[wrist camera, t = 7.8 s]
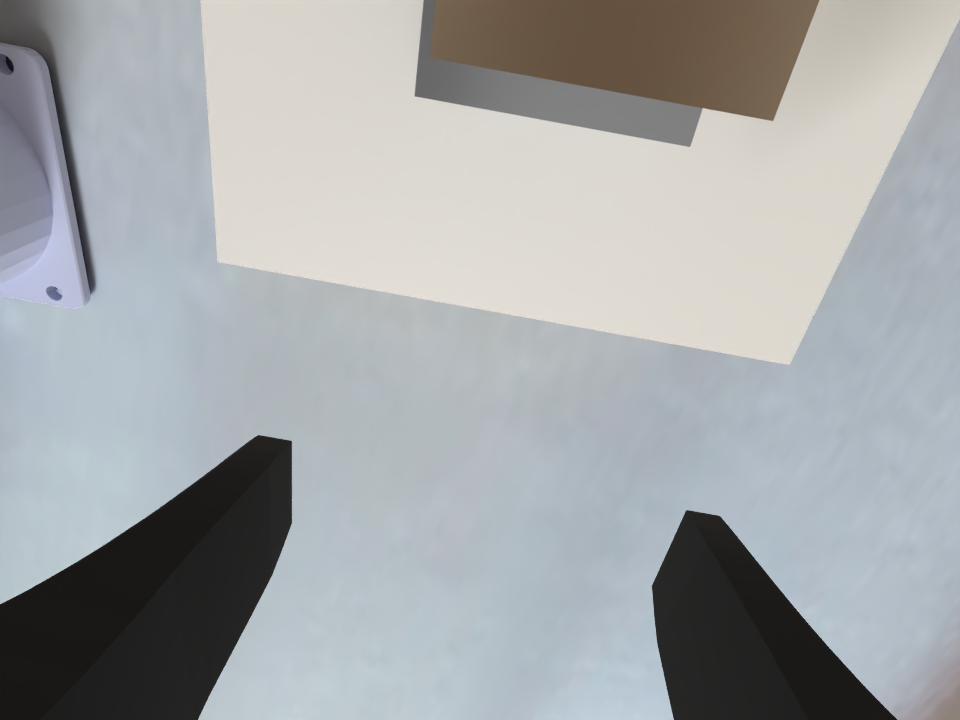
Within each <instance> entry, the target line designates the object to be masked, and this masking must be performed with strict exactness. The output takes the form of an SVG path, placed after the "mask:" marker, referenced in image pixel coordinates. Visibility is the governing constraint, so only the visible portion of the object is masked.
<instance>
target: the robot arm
mask: <svg viewBox="0 0 960 720" xmlns="http://www.w3.org/2000/svg"><path fill="white" fill-rule="evenodd" d="M6 56H7V57H8V58H9V59H10V60H11V61H12V63H13V66H14V72H12V71H11V70H10V69H9V68H8V66H7V64H6ZM54 287H56V288H57V289H59V290H60V292H61V294H62V295H60V294H59V293H58V292H57V291H56V290H55V288H54ZM0 296H4V297H9V298H15V299H21V300H26V301H32V302H37V303H43V304H49V305H54V306H60V307H65V308H71V309H78V308H81V307H82V306H84V305H86V304H87V303H88V302H89V300H90V290H89V285H88V280H87V274H86V269H85V263H84V258H83V253H82V247H81V242H80V236H79V231H78V225H77V220H76V215H75V209H74V204H73V198H72V193H71V188H70V182H69V177H68V171H67V166H66V161H65V155H64V150H63V144H62V139H61V133H60V128H59V123H58V117H57V112H56V106H55V101H54V96H53V90H52V85H51V79H50V74H49V69H48V67H47V64H46V62H45V60H44V59H43V58H42V56H41V55H40V54H39V53H37V52H36V51H35V50H33V49H30V48H28V47H22V46H17V45H11V44H6V43H0ZM291 524H292V441H289V440H283V439H277V438H272V437H266V436H260V435H258V436H256V437H255V438H253V439H252V440H250V441H249V442H248V443H246V444H245V445H244V446H242V447H241V448H240V449H238V450H237V451H236V452H234V453H233V454H232V455H231V456H229V457H228V458H227V459H225V460H224V461H223V462H221V463H220V464H219V465H218V466H216V467H215V468H214V469H212V470H211V471H210V472H208V473H207V474H206V475H204V476H203V477H202V478H200V479H199V480H198V481H196V482H195V483H194V484H192V485H191V486H190V487H188V488H187V489H185V490H184V491H183V492H181V493H180V494H178V495H177V496H176V497H174V498H173V499H172V500H170V501H169V502H167V503H166V504H165V505H163V506H162V507H160V508H159V509H158V510H156V511H155V512H153V513H152V514H150V515H149V516H148V517H146V518H145V519H143V520H142V521H140V522H139V523H137V524H136V525H134V526H132V527H131V528H129V529H128V530H126V531H125V532H123V533H122V534H120V535H119V536H117V537H116V538H114V539H113V540H111V541H110V542H108V543H107V544H105V545H104V546H102V547H101V548H99V549H97V550H96V551H94V552H92V553H91V554H89V555H88V556H86V557H84V558H83V559H81V560H79V561H78V562H76V563H74V564H73V565H71V566H69V567H68V568H66V569H64V570H63V571H61V572H59V573H57V574H56V575H54V576H52V577H50V578H49V579H47V580H45V581H43V582H42V583H40V584H38V585H36V586H34V587H33V588H31V589H29V590H27V591H25V592H24V593H22V594H20V595H18V596H16V597H14V598H12V599H10V600H8V601H6V602H4V603H2V604H0V720H198V718H199V716H200V714H201V712H202V710H203V708H204V706H205V703H206V701H207V699H208V697H209V695H210V693H211V691H212V689H213V687H214V686H215V684H216V682H217V680H218V678H219V676H220V674H221V672H222V670H223V668H224V667H225V665H226V663H227V661H228V659H229V657H230V655H231V653H232V651H233V649H234V647H235V646H236V644H237V642H238V640H239V638H240V636H241V634H242V632H243V630H244V628H245V627H246V625H247V623H248V621H249V619H250V617H251V615H252V613H253V611H254V609H255V607H256V605H257V603H258V602H259V600H260V598H261V596H262V594H263V592H264V590H265V588H266V586H267V584H268V582H269V580H270V578H271V576H272V574H273V571H274V569H275V566H276V564H277V561H278V559H279V556H280V554H281V551H282V548H283V546H284V543H285V540H286V537H287V535H288V532H289V529H290V527H291ZM652 591H653V604H654V617H655V626H656V635H657V643H658V648H659V653H660V658H661V663H662V667H663V672H664V677H665V681H666V686H667V690H668V695H669V699H670V704H671V708H672V713H673V717H674V720H897V719H896V718H895V717H894V716H893V715H892V714H891V713H890V712H889V711H888V710H887V709H886V708H885V707H884V706H883V705H882V704H881V703H880V702H879V701H878V700H877V699H876V698H875V697H874V696H873V695H872V694H871V693H870V692H869V691H868V690H867V689H866V687H865V686H864V685H863V684H862V683H861V682H860V681H859V680H858V679H857V678H856V677H855V676H854V674H853V673H852V672H851V671H850V670H849V669H848V668H847V667H846V666H845V665H844V664H843V662H842V661H841V660H840V659H839V658H838V657H837V656H836V655H835V654H834V653H833V652H832V650H831V649H830V648H829V647H828V646H827V645H826V644H825V643H824V641H823V640H822V639H821V638H820V637H819V636H818V635H817V633H816V632H815V631H814V630H813V629H812V628H811V626H810V625H809V624H808V623H807V622H806V621H805V619H804V618H803V617H802V616H801V615H800V614H799V612H798V611H797V610H796V609H795V608H794V606H793V605H792V604H791V603H790V602H789V600H788V599H787V598H786V597H785V595H784V594H783V593H782V592H781V591H780V589H779V588H778V587H777V586H776V585H775V583H774V582H773V581H772V580H771V578H770V577H769V576H768V575H767V573H766V572H765V571H764V570H763V568H762V567H761V566H760V565H759V563H758V562H757V561H756V560H755V558H754V557H753V556H752V555H751V553H750V552H749V551H748V550H747V548H746V547H745V546H744V545H743V543H742V542H741V541H740V540H739V539H738V537H737V536H736V535H735V534H734V532H733V531H732V530H731V529H730V528H729V526H728V525H727V524H726V523H725V522H724V520H723V519H722V518H721V517H720V516H717V515H711V514H705V513H699V512H694V511H688V510H686V512H685V515H684V517H683V519H682V521H681V523H680V526H679V528H678V530H677V532H676V534H675V537H674V539H673V541H672V543H671V545H670V548H669V550H668V552H667V554H666V556H665V559H664V561H663V563H662V565H661V567H660V570H659V572H658V574H657V576H656V578H655V581H654V583H653V585H652Z"/></svg>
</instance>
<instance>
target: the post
mask: <svg viewBox="0 0 960 720" xmlns="http://www.w3.org/2000/svg"><path fill="white" fill-rule="evenodd" d="M818 3H819V0H436V3H435V12H434V22H433V31H432V41H431V50H430V58H434V59H440V60H445V61H450V62H456V63H461V64H467V65H472V66H477V67H483V68H488V69H494V70H499V71H505V72H510V73H515V74H521V75H526V76H532V77H537V78H542V79H548V80H553V81H559V82H564V83H569V84H575V85H580V86H586V87H591V88H596V89H602V90H607V91H613V92H618V93H623V94H629V95H634V96H640V97H645V98H651V99H656V100H661V101H667V102H672V103H678V104H683V105H688V106H694V107H699V108H705V109H710V110H715V111H721V112H726V113H732V114H737V115H742V116H748V117H753V118H759V119H764V120H770V121H773V120H774V118H775V115H776V112H777V110H778V107H779V105H780V102H781V99H782V97H783V94H784V92H785V89H786V86H787V84H788V81H789V79H790V76H791V73H792V71H793V68H794V66H795V63H796V60H797V58H798V55H799V53H800V50H801V47H802V45H803V42H804V40H805V37H806V34H807V32H808V29H809V26H810V24H811V21H812V19H813V16H814V13H815V11H816V8H817V6H818Z"/></svg>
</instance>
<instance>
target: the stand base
mask: <svg viewBox="0 0 960 720" xmlns="http://www.w3.org/2000/svg"><path fill="white" fill-rule="evenodd" d="M435 3H436V0H201V13H202V29H203V44H204V59H205V75H206V90H207V105H208V121H209V136H210V151H211V167H212V182H213V197H214V213H215V228H216V244H217V259H218V262H221V263H226V264H232V265H237V266H243V267H248V268H254V269H259V270H265V271H270V272H276V273H282V274H287V275H293V276H298V277H304V278H309V279H315V280H320V281H326V282H332V283H337V284H343V285H348V286H354V287H359V288H365V289H370V290H376V291H381V292H387V293H393V294H398V295H404V296H409V297H415V298H420V299H426V300H431V301H437V302H443V303H448V304H454V305H459V306H465V307H470V308H476V309H481V310H487V311H493V312H498V313H504V314H509V315H515V316H520V317H526V318H531V319H537V320H542V321H548V322H554V323H559V324H565V325H570V326H576V327H581V328H587V329H592V330H598V331H604V332H609V333H615V334H620V335H626V336H631V337H637V338H642V339H648V340H654V341H659V342H665V343H670V344H676V345H681V346H687V347H692V348H698V349H703V350H709V351H715V352H720V353H726V354H731V355H737V356H742V357H748V358H753V359H759V360H765V361H770V362H776V363H781V364H787V365H790V363H791V361H792V359H793V357H794V355H795V352H796V350H797V348H798V346H799V344H800V342H801V340H802V338H803V336H804V334H805V332H806V330H807V328H808V326H809V324H810V322H811V320H812V318H813V316H814V314H815V312H816V310H817V308H818V306H819V304H820V302H821V300H822V298H823V296H824V294H825V292H826V289H827V287H828V285H829V283H830V281H831V279H832V277H833V275H834V273H835V271H836V269H837V267H838V265H839V263H840V261H841V259H842V257H843V255H844V253H845V251H846V249H847V247H848V245H849V243H850V241H851V239H852V237H853V235H854V233H855V231H856V228H857V226H858V224H859V222H860V220H861V218H862V216H863V214H864V212H865V210H866V208H867V206H868V204H869V202H870V200H871V198H872V196H873V194H874V192H875V190H876V188H877V186H878V184H879V182H880V180H881V178H882V176H883V174H884V172H885V170H886V167H887V165H888V163H889V161H890V159H891V157H892V155H893V153H894V151H895V149H896V147H897V145H898V143H899V141H900V139H901V137H902V135H903V133H904V131H905V129H906V127H907V125H908V123H909V121H910V119H911V117H912V115H913V113H914V111H915V109H916V107H917V104H918V102H919V100H920V98H921V96H922V94H923V92H924V90H925V88H926V86H927V84H928V82H929V80H930V78H931V76H932V74H933V72H934V70H935V68H936V66H937V64H938V62H939V60H940V58H941V56H942V54H943V52H944V50H945V48H946V46H947V43H948V41H949V39H950V37H951V35H952V33H953V31H954V29H955V27H956V25H957V23H958V21H959V19H960V0H819V3H818V6H817V8H816V11H815V13H814V16H813V19H812V21H811V24H810V26H809V29H808V32H807V34H806V37H805V40H804V42H803V45H802V47H801V50H800V53H799V55H798V58H797V60H796V63H795V66H794V68H793V71H792V73H791V76H790V79H789V81H788V84H787V86H786V89H785V92H784V94H783V97H782V99H781V102H780V105H779V107H778V110H777V112H776V115H775V118H774V120H773V121H770V120H764V119H759V118H753V117H748V116H742V115H737V114H732V113H726V112H721V111H715V110H710V109H705V108H699V107H694V106H688V105H683V104H678V103H672V102H667V101H661V100H656V99H651V98H645V97H640V96H634V95H629V94H623V93H618V92H613V91H607V90H602V89H596V88H591V87H586V86H580V85H575V84H569V83H564V82H559V81H553V80H548V79H542V78H537V77H532V76H526V75H521V74H515V73H510V72H505V71H499V70H494V69H488V68H483V67H477V66H472V65H467V64H461V63H456V62H450V61H445V60H440V59H434V58H430V50H431V41H432V31H433V22H434V12H435Z"/></svg>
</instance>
